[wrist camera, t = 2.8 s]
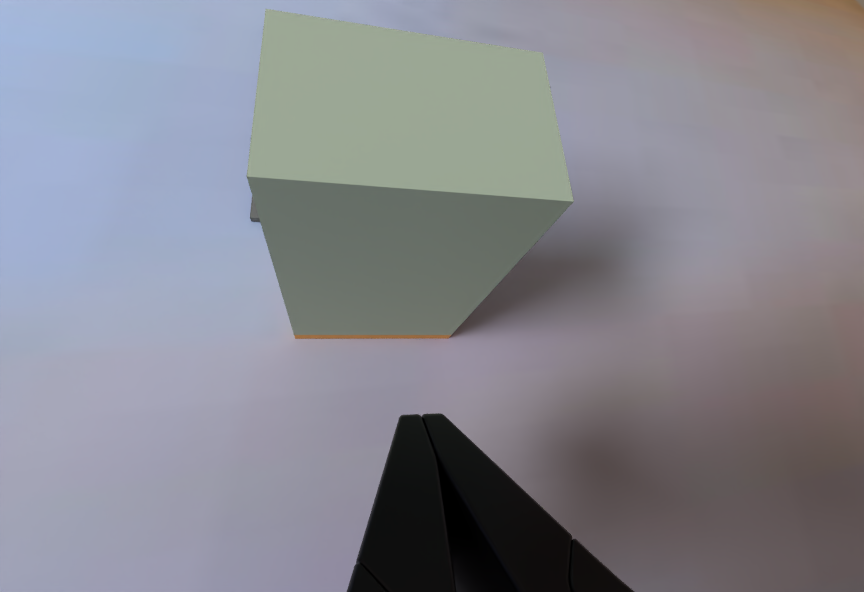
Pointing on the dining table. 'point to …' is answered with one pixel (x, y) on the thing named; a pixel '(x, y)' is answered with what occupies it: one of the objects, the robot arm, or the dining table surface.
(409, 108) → the block
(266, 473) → the dining table surface
